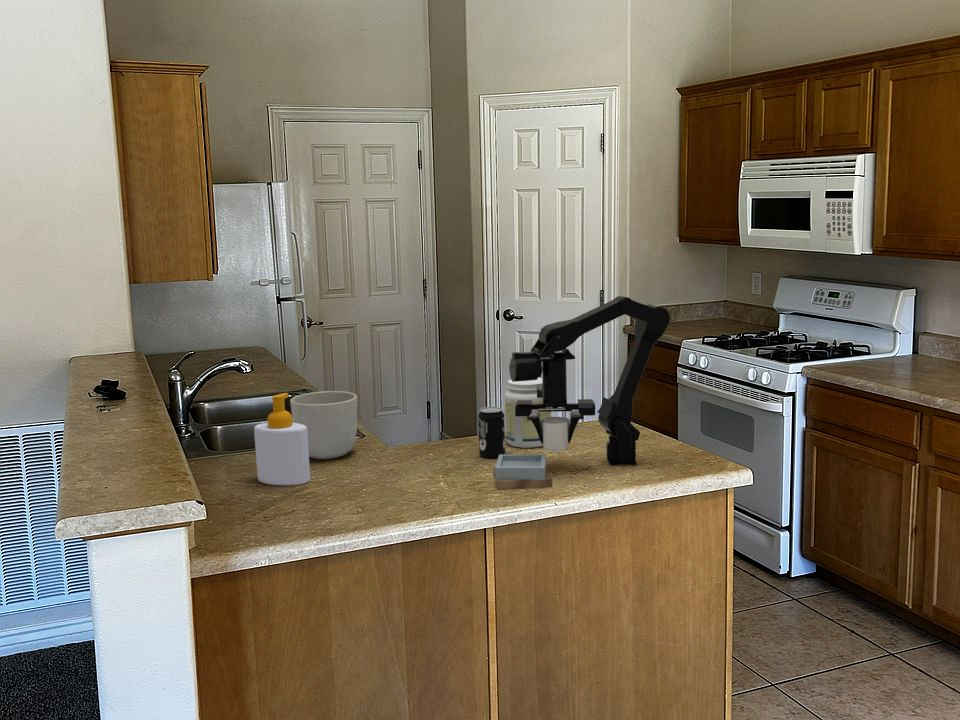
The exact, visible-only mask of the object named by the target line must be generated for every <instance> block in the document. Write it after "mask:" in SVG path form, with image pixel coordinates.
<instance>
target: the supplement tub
mask: <svg viewBox="0 0 960 720" xmlns="http://www.w3.org/2000/svg"><path fill="white" fill-rule="evenodd" d="M537 384H542V377H538V379H537V380H531V381H518V382H513V381H512V380H511V379H508V380H507V391H506V392H505V394H504V421H505V442H507V444H508V445H510V446H512V447H515V448H524V449H529V448H539V447H544V445H543V444H541V441H540V439H539V436H538V433H537V430H536V428H535V426H534V424H533V423H532V421H531V420H527V416H519V417H517V416H515V404H516V402H517V401H518V400H532V404H543V398H537ZM547 408H548V407H547ZM549 408H550V407H549ZM539 414H540V421H541V419H543V418H547V417H552V412H539ZM541 428H542V427H541Z"/></svg>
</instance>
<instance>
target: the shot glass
mask: <svg viewBox="0 0 960 720" xmlns="http://www.w3.org/2000/svg"><path fill="white" fill-rule="evenodd" d="M569 423H570V418H568V417H565V416H564V417H562V416H551V417H547V418H543V419H541V427H542V436H543V445H544V446H543V450H545V451H546V452H547V451H548V452H563V451H564V452H565V451H566V450H567V449H568V444H569V443H568V433H569Z"/></svg>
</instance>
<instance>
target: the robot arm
mask: <svg viewBox="0 0 960 720" xmlns="http://www.w3.org/2000/svg"><path fill="white" fill-rule="evenodd" d="M624 315H626V316H627V317H629V318H632V319H635V323H634V340H633V342H632V346H631V348H630V351H629V353H628V356H627V359H626V361H625V364H624V367H623V369H622V371H621V375H620V377H619V380H618V382H617V385H616V387H615V390H614V392H613V394H611V396H610V397H609V398H607V397H605V396H604V397H603V398H602V400H601V404H600V407H599V409H598V410H597V413H598V418H597V419H598V422H599V424H600V426H601V427H602V428H603V429H604V431H605V433H606V434H607V435H608V441H606V444H605V445H606V447H605V448H606V450H605V451H606V455H605V456H606V461H607V462H608V464H609V466H636V465H638V462H637V458H636V457H637V456H636V455H637V454H636V453H637V448H636V447H637V445H636V444H637V443H636V442H637V441H639V438H640V436H641V432H640V431H639V430H638V429H637V428H636V427H635V426H634V425H633V424H632V419H633V414H634V412H633V411H634V409H633V408H634V407H633V405H634V404H633V400H634V397H635V395H636V392H637V389H638V386H639V385H640V381H641V379H642V376H643V375H644V374H643V373H644V371H645V369H646V365H647V363H648V361H649V359H650V355H651V353H652V350H653V348H654V345H655V344H656V343H657V342H658V341H659V339H661V338H662V336H664V333H665V332H666V330H667V329H668V328H669V325H670V323H671V315H670V313H669V310H667V308H666V307H663V306H658V305H655V304H654V305H653V304H650V303H649V304H644V303H642V302H638V301H635V300H633V299H631V298H630V297H628V296H622V295H619V296H618V295H617V296H615V298H614V299H612V300H610V301H608V302H606V303H605V302H604V303H603V304H601V305H598V306H597V307H595V308H593V309H591V310H589V311H586V312H584V313H582V314H579V315H578V316H576V317H573V318H571V319H567V320H560V321H556V322H552V323H549V324H546V325H544V326H543V327H541V328H540V331H539V334H538V339H537V340H536V342H535V343H534V344H533V346H532V348H531V349H530V350H529V351H525V352H518V351H516V352H515V351H513V352H512V353H511V358H510V362H509V363H510V364H509V366H508V372H509V377H510V380H512V381H513V382H518V381H531V380H537V379H538V378H542V384H537V398H543V404H532V400H518V401H517V402H516V404H515V416H517V417H519V416H527V420H531V421H532V423H533V424H534V426H535V428H536V430H537V433H538V436H539V439H540V441H541V444H543V436H542V428H541V421H540V414H539V412H551V413H552V412H555V413H556V412H557V413H558V412H570V413H569V414H570V415H569V433H568V444H571V441H572V438H573V436H574V432H575V429H576V427H577V425H578V423H579V421H580V420H583V419H584V416H589V417H590V416H596V402H595V401H594V400H593V398H587V399H585V398H583V399H582V398H580V399H577V403H575V402H574V403H573V402H571V403H568V386H567V385H568V383H567V382H568V381H567V380H568V379H567V378H568V377H567V376H568V374H567V371H568V370H567V360H570V361H571V360H575V359H576V356H575V355H574V354H572V352H571V351H570V350H569V349H568V348H569V347H570V346H572V345H573V344H574V343H575V342H577V340H578V339H579V338H580V337H582V335H584V334H587V333H588V332H590V331H592V330H595V329H598V328H600V327H601V326H604V325H606V324H607V323H609V322H611V321H614V320H615V319H618V318H620V317H622V316H624ZM547 407H548V408H547ZM549 407H550V408H549Z"/></svg>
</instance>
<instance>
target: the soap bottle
mask: <svg viewBox="0 0 960 720" xmlns="http://www.w3.org/2000/svg"><path fill="white" fill-rule="evenodd" d="M288 397H289V393H288V392H284V393H279V394H276V395H273V396H272V410H273V411H272V412H270V413H269V414H268V416H267V422H264V423H263V422H262V423H259V424H256V425H255V426H254V428H253V430H254V431H253V433H254V434H253V436H254V446H255V447H254V448H255V461H256V462H255V463H256V473H257V474H256V475H257V480H258V481H259V482H260V483H263V484H266V485H270V486H271V485H273V486H297V485H305V484H306V483H309V481H310V480H311V471H310V469H311V468H310V467H311V466H310V457H309V452H308V436H307V427H306V426H305V425H303V424H298V423H293V418H292V413H291V412H289V411H287V410H286V407H285V399H288Z"/></svg>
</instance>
